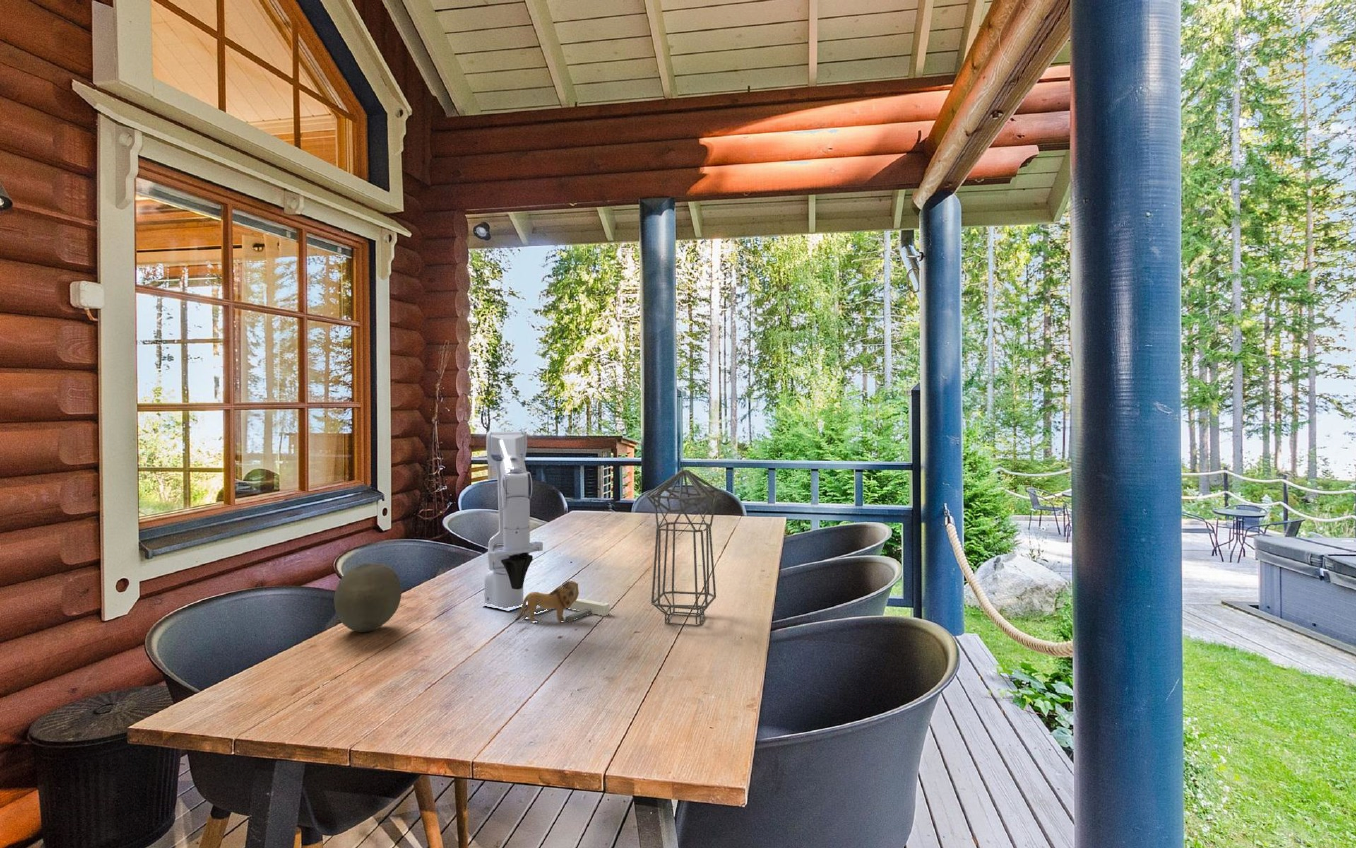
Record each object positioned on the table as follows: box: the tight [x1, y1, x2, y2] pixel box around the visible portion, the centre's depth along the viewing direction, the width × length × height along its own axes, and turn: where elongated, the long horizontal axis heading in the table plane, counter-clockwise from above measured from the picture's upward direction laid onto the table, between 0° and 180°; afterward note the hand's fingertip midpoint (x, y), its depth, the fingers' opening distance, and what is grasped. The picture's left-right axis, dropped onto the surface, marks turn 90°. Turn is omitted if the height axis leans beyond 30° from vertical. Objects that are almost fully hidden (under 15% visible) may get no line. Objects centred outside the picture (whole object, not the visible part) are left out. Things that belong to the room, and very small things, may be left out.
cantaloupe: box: [333, 562, 403, 633], centre depth 148 cm, size 14×14×15 cm
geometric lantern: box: [645, 469, 722, 627], centre depth 155 cm, size 16×16×35 cm
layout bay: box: [535, 592, 611, 622], centre depth 161 cm, size 20×10×2 cm, turn 58°
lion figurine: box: [514, 580, 580, 622], centre depth 155 cm, size 15×5×9 cm, turn 102°
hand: (517, 588), depth 148 cm, fingers closed
